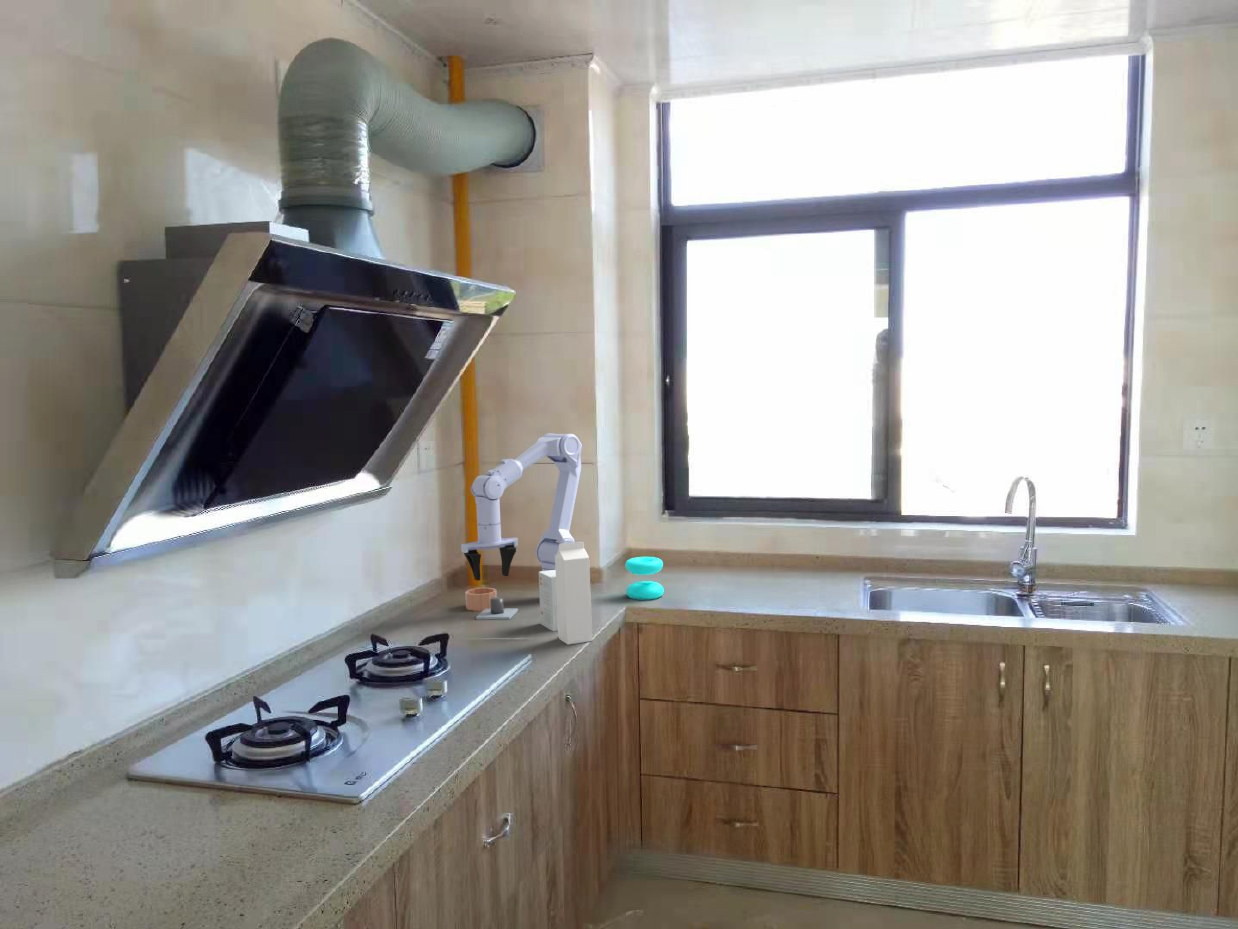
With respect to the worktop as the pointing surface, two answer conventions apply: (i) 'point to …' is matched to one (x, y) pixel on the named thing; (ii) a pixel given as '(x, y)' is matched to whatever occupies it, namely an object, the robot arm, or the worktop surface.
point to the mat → (499, 619)
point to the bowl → (479, 598)
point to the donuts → (644, 588)
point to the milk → (573, 593)
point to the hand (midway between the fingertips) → (491, 577)
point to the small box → (548, 599)
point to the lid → (497, 610)
